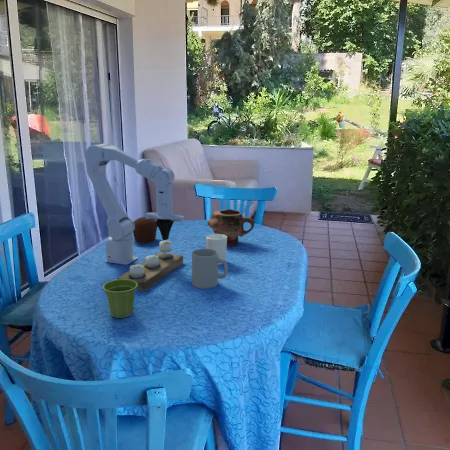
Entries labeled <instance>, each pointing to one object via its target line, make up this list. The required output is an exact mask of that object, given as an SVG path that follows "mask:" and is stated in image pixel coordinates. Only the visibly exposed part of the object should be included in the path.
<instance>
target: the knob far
mask: <svg viewBox="0 0 450 450" xmlns="http://www.w3.org/2000/svg"><path fill="white" fill-rule="evenodd" d="M172 243H173V242H172V241H171V240H161V241H159V243H158V244H159V252H160V253H171V252H172V250H173V244H172Z"/></svg>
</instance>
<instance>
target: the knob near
mask: <svg viewBox="0 0 450 450" xmlns="http://www.w3.org/2000/svg"><path fill="white" fill-rule="evenodd" d="M140 264H141V263H140ZM140 264H137V263H136V264H133V265H130V266H129V270H130V276H131V277H133V278H140V277H143V276H144V266H143V265H140Z"/></svg>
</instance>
